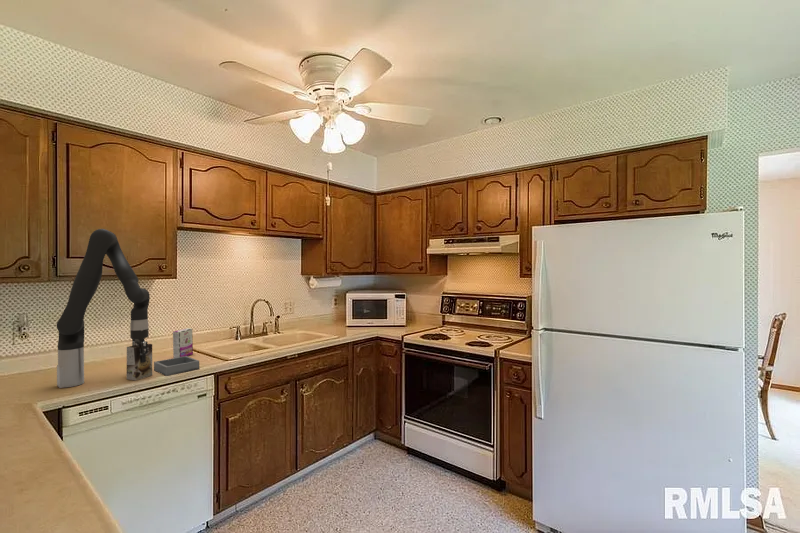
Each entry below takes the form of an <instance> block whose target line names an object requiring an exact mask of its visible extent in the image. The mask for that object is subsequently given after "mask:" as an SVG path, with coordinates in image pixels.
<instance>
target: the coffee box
mask: <svg viewBox="0 0 800 533" xmlns="http://www.w3.org/2000/svg"><path fill="white" fill-rule="evenodd" d="M147 345H148V353H147V354H146V362H143V363H141V362H140V351H139V350H140V349H141V346H132V345H130V346H126V380H130V381H138V380H141V379H145V378H148V377H152V376H153V343H147ZM143 352H144V351H143Z"/></svg>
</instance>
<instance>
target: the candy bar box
mask: <svg viewBox="0 0 800 533" xmlns="http://www.w3.org/2000/svg"><path fill="white" fill-rule="evenodd" d="M193 344H194V343H193V328H187V327H186V328H183V329H178V330H175V331H172V350H173V351H172V352H173V353H172V354H173V355H172V356H173V358H178V357H183V356H187V357H190V356H192V355H194V353H193V352H194V347H193V346H194V345H193Z"/></svg>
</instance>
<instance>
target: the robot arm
mask: <svg viewBox="0 0 800 533" xmlns="http://www.w3.org/2000/svg"><path fill="white" fill-rule="evenodd" d="M105 256H107V257H108V259H109V261H110V263H111V266H112V268H113V270H114V273H115V275H116V277H117V279H118V280H119V281H120V283H121V285H122V286H123V289H124V293H125V295H126V297H127V299H128V300H129V301H130V302H131V303H133V307H132V308H131V309H130V325H129V328H130V329H129V330H130V332H129V333H130V335H129V336H130V337H129V338H130V339H131V342H132V343H131V346H141V349H140V350H139V351H140V362H141V363H143V362H146V354H147V353H148V345H147V344H149V343H148V341H145V339H148V338H149V335H150V333H149V331H150V329H149V328H150V327H149V319H148V318H149V316H148V315H149V312H148V311H149V310H148V308H149V304H150V299H151V298H150V296H151V295H150V293H149V290H147V289H146V288H142V287H141V286H140V285H139V282H140V280H139V278H138V276H137V274H136V272H135V271H134V269H133V267H132V266H131V264H130V263H129V261H128V260H127V257H125V255H124V252H123V251H122V248H121V246H120V242H119V240H118V238H117V235H116V234H115V233H114V232H112V231H109V230H108V229H104V228H98V229H95V230H94V231H92V233H91V234H90V235H89V239H88V243H87V246H86V251H85V255H84V257H83V259H82V262H81V263H80V266H79V269H78V270H77V273H76V276H75V278H74V281H72V282H73V283H72V286H71V289H70V293H69V296H68V301H67V303H66V306H65V308H64V310H63V312H62V314H61V315H60V317H59V318H58V321H57V322H56V330H57V332H58V341H57V365H56V386H57V387H58V388H59V389H63V388H70V387H71V388H72V387H77V386H79V385H83V384H85V349H84V348H85V320H84V318H85V314H86V311H87V308H88V306H89V304H90V302H91V301H92V299H93V298H94V295H95V294H96V292H97V289H98V288H99V285H100V283H101V280H102V276H103V270H104V268H103V265H104V264H103V263H104V258H105ZM143 351H144V352H143Z"/></svg>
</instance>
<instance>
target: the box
mask: <svg viewBox="0 0 800 533" xmlns="http://www.w3.org/2000/svg"><path fill="white" fill-rule="evenodd" d="M153 370H154V371H155V372H157V373H159V374H160V375H164V376H165V377H169V376H173V375H178V374H183V373H188V372H192V371H197V370H200V360H198V359H195V358H192V357H190V356H183V357H178V358H167V359H162V360H157V361H156V360H155V361H153Z"/></svg>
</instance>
